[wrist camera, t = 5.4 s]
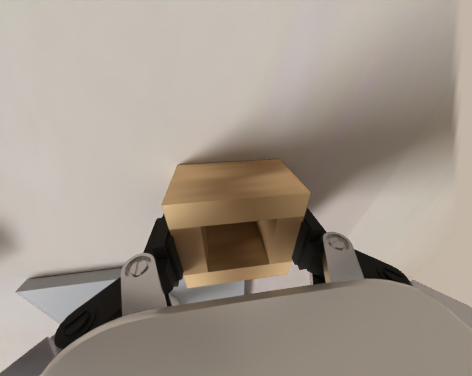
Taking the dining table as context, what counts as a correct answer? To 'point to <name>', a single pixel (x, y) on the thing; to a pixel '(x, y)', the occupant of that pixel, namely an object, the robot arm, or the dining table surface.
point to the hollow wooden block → (234, 219)
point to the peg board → (91, 283)
